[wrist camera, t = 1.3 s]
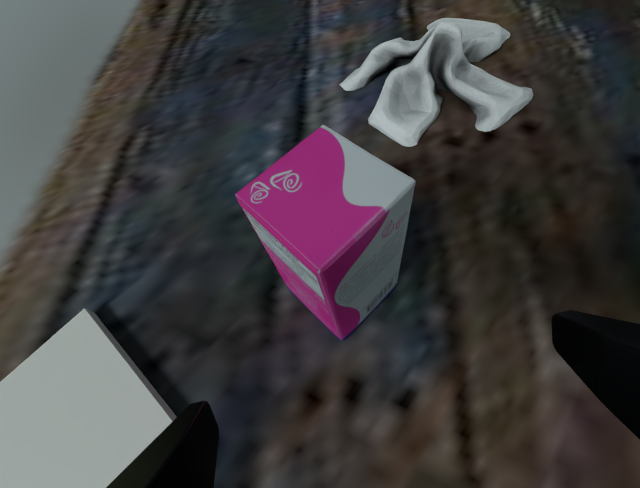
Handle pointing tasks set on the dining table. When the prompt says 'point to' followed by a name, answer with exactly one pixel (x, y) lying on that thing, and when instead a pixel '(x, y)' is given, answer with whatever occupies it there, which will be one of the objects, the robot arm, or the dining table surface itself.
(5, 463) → the mat
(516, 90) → the cloth
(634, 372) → the robot arm
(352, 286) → the supplement box
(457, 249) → the dining table surface
